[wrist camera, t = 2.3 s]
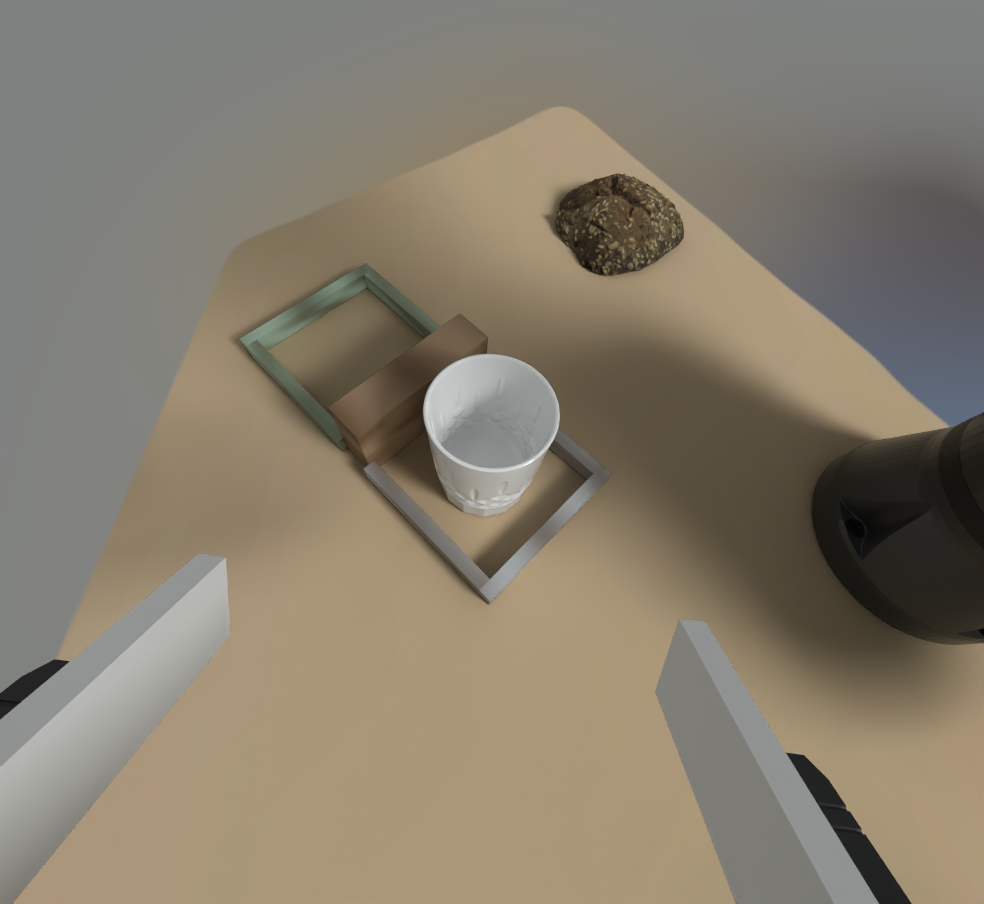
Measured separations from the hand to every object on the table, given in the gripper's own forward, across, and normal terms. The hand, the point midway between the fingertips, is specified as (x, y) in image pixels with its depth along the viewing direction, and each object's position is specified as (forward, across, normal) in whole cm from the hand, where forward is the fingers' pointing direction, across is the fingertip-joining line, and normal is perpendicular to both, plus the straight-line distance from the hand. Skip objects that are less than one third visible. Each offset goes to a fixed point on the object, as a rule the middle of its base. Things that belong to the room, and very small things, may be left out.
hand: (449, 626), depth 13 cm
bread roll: (+43, +11, +17) cm, 48 cm away
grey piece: (+25, -5, -1) cm, 26 cm away
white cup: (+22, +1, -4) cm, 22 cm away
